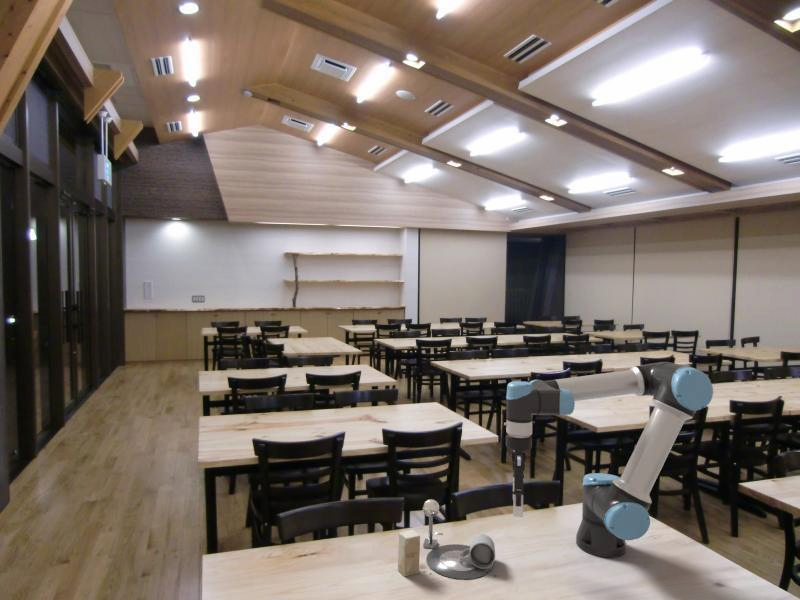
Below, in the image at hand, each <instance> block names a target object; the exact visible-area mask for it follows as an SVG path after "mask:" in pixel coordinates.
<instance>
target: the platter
mask: <svg viewBox="0 0 800 600" xmlns="http://www.w3.org/2000/svg"><path fill="white" fill-rule="evenodd" d="M470 546H471V545H467V544H456V543H455V544H451V543H450V544H444V545H440V546H436V548H435V549H433V548H432V549H431V550H430V551H429V552H428V554H427V555H426V564H427V566H428V567H429V568H430V569H431V570H432V571H433V572H434V573H436V574H438V575H440V576H443V577H445V578H449V579H454V580H474V579H479V578H482V577H484V576H487V574H489V573H490V572H491V571H492V569H493V566H494V564H493V565H492V566H491V567H489V568H486V569H480V568H477V567H476V566H474V565H473V564H472V562H471V561H470V562H461V560H460V558H459V555H460V553H461V552H462V551H464V550H466V549H468V548H470ZM466 556H469V554H468V555H465V556H464V557H466Z"/></svg>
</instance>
